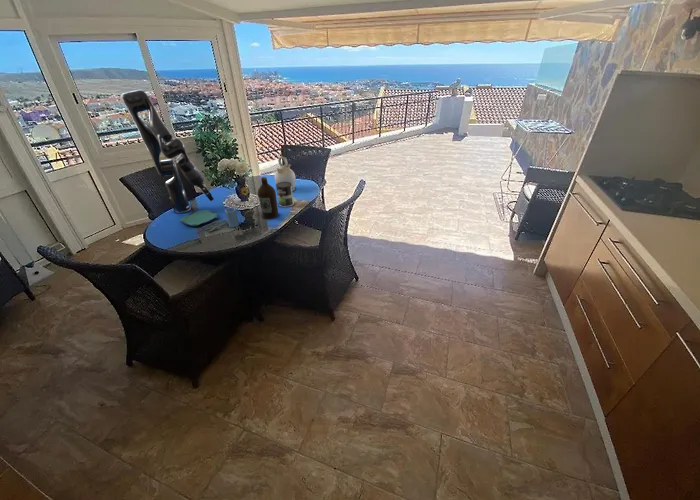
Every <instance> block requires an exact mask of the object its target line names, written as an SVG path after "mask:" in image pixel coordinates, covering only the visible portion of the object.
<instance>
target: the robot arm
mask: <svg viewBox="0 0 700 500" xmlns="http://www.w3.org/2000/svg"><path fill="white" fill-rule="evenodd" d="M121 100H122V102H123V104H124V106H125V108H126V110H127V111H128V113H129V115H130V117H131V118H132V121H133V122H134V125H135V127H136V128H137V130H138V132H139V135H140V137H141V139H142V141H143V143H144V145H145V147H146V149H147V151H148V153H149V155H150V157H151V159H152V162H153V164H154V166H155V169H156V171H157V174H158V175H159V176H160V177H170V176H173V177H171V178H170V179H168V180H166V181H165V182H164V185H165V187H166V190H167V192H168V195H169V198H168V199H169V202H170V204H171V206H172V209H173V212H175V213H177V214H184V213H187V212H190V211H191V210H192V208H191V207H192V206H191V205H190V202H189V199H188V196H187V193H186V191H185V188H184V184H183V182H182V179H181V176H180V174H179V171H180V172H181V173H182V174H183V176H184V178H185V179H186V180H187V182H188V183H189V185H191V186H193V187H197V188H198V190H200V192H201V193H202V194H204V195H205V197H206V198H207V199H208V200H209V201H210V202H212V201H214V200H215V198H214V197H213V195H212V193H211V192H210V191H209V190H210V189H208V187H207V185H206V184H205V182H204V181H205V177H204V176H203V174H202V173H201V171H200V170H199V168H198V167H197V166H196V165H195V164H194V163H193V161H192V160H191V158H190V157H189V154H188V152H187V149H186V146H185V143H184V142H183V141H182V140H181V139H180V138H176V137H175V138H173V133H172V132H171V131H170V129H168V127H167V126H166V124H165V123H164V121H163V120H162V117H161V116H160V114H159V113H158V111H157V108H156V106H155V105H154V104H153V102H152V100H151V99H150V97H149V95H148V94H147V93H146V92H145V91H144V90H143V89H137V90H132V91H127V92H124V93H121ZM147 111H148V113H149V117H148V118H149V119H148V122H147V121H146V120H145V119H143V118H142V117H141V116H140V115H139V113H144V112H147ZM161 153H162V155H163V156H164V157H165V158H167V159H164V160H160V157H161V156H160V155H161ZM176 157H177V158H176ZM174 158H176V159H175V160H174ZM178 169H179V170H178Z"/></svg>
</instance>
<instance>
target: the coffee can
mask: <svg viewBox="0 0 700 500" xmlns="http://www.w3.org/2000/svg"><path fill="white" fill-rule="evenodd" d="M275 188H276V196H277V202H278V206H279V207H281V208H288V207H289V208H290V207H292V206H293V205H294V204H295V200H294V194H293V191H292V184H291V183H290V182H280V183H277V184H276V183H275Z"/></svg>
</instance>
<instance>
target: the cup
mask: <svg viewBox="0 0 700 500" xmlns="http://www.w3.org/2000/svg"><path fill="white" fill-rule="evenodd" d="M224 213H225V218H226V222H227V221H228V223H227V224H228V227H229V228H237V227H238V226H240V221H239V218H238V213H237V210H236V208H235V207H228V208H226V209H224Z"/></svg>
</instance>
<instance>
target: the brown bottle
mask: <svg viewBox="0 0 700 500" xmlns="http://www.w3.org/2000/svg"><path fill="white" fill-rule="evenodd" d="M260 179H261V185H260V186H259V188H258V189H257V198H258V201H259V205H260V208H261V213H262V217H263V218H264V219H266V220H273V219H276V218H277V217H278V216H279V209H278V199H277V191H276V189H275V188H274V187H273V186H272V185H270V184H269V182H268V177H266V176H262V177H261V178H260Z"/></svg>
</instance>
